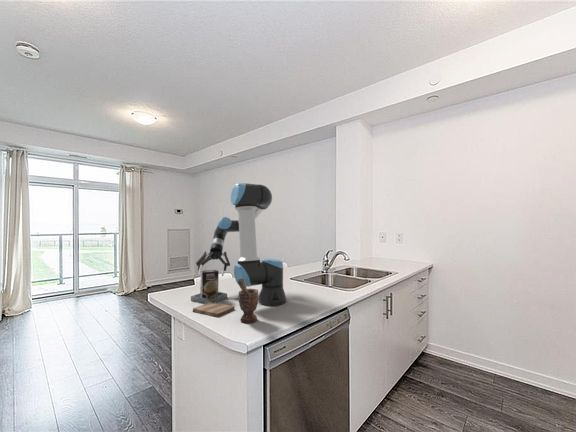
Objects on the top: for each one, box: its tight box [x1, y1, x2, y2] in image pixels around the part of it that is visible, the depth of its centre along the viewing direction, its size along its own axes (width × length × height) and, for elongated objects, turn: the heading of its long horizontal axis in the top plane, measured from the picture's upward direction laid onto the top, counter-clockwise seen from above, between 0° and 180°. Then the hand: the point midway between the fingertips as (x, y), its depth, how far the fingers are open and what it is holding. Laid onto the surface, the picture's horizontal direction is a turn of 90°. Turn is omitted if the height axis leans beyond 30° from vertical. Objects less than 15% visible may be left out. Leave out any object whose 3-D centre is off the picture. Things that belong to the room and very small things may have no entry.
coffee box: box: [199, 269, 219, 299], centre depth 153 cm, size 9×6×16 cm
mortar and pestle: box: [237, 278, 259, 324], centre depth 119 cm, size 12×9×20 cm
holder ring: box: [190, 291, 228, 305], centre depth 152 cm, size 14×14×2 cm
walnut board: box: [192, 302, 235, 318], centre depth 133 cm, size 16×12×2 cm
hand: (210, 275), depth 158 cm, fingers open, 13 cm apart
